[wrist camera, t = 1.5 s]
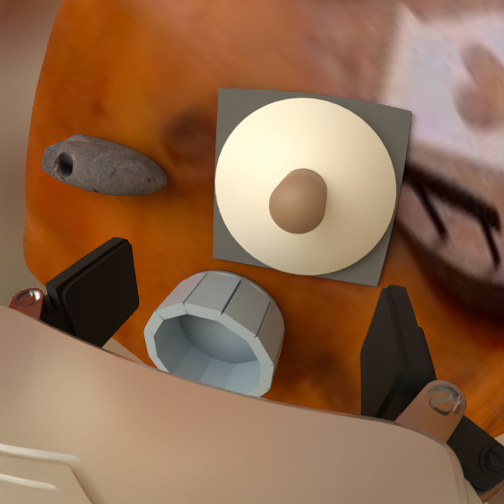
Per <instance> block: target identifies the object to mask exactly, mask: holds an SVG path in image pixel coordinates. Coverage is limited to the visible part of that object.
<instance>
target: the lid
mask: <svg viewBox="0 0 504 504" xmlns="http://www.w3.org/2000/svg"><path fill="white" fill-rule="evenodd" d="M215 192H216V198H217V203H218V207H219V210H220V213H221V216H222V218H223V220H224V223H225V225H226V226H227V228H228V230H229V231H230V233H231V234H232V236H233V237H234V238H235V240H236V241H237V242H238V243H239V244H240V245H241V246H242V247H243V248H244V249H245V250H246V251H247V252H248V253H249V254H251V255H252V256H253V257H254V258H256V259H258V260H259V261H261V262H262V263H264V264H266V265H268V266H270V267H272V268H275V269H278V270H280V271H284V272H288V273H292V274H299V275H319V274H327V273H331V272H335V271H338V270H340V269H343V268H346V267H348V266H350V265H352V264H353V263H355V262H357V261H358V260H360V259H361V258H363V257H364V256H365V255H366V254H367V253H369V252H370V251H371V250H372V249H373V248H374V247H375V245H376V244H377V243H378V242H379V241H380V239H381V238H382V236H383V234H384V233H385V231H386V230H387V227H388V225H389V223H390V221H391V218H392V214H393V211H394V207H395V200H396V180H395V173H394V169H393V165H392V162H391V159H390V156H389V154H388V152H387V150H386V148H385V146H384V144H383V143H382V141H381V140H380V138H379V137H378V135H377V134H376V133H375V132H374V131H373V129H372V128H371V127H370V126H369V125H368V124H367V123H366V122H365V121H363V120H362V119H361V118H360V117H358V116H357V115H355V114H354V113H352V112H351V111H349V110H347V109H345V108H343V107H341V106H339V105H337V104H334V103H331V102H328V101H324V100H319V99H313V98H293V99H286V100H281V101H277V102H274V103H271V104H269V105H266V106H264V107H262V108H260V109H258V110H256V111H255V112H253V113H252V114H250V115H249V116H248V117H246V118H245V119H244V120H243V121H242V122H241V123H240V124H239V125H238V126H237V127H236V128H235V129H234V131H233V132H232V133H231V135H230V136H229V137H228V139H227V141H226V143H225V145H224V146H223V148H222V151H221V154H220V156H219V159H218V164H217V168H216V176H215Z"/></svg>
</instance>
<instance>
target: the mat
mask: <svg viewBox="0 0 504 504" xmlns="http://www.w3.org/2000/svg"><path fill="white" fill-rule="evenodd" d="M293 98H313V99H319V100H324V101H328V102H331V103H334V104H337V105H339V106H341V107H343V108H345V109H347V110H349V111H351V112H352V113H354V114H355V115H357V116H358V117H360V118H361V119H362V120H363V121H365V122H366V123H367V124H368V125H369V126H370V127H371V128H372V129H373V131H374V132H375V133H376V134H377V135H378V137H379V138H380V140H381V141H382V143H383V144H384V146H385V148H386V150H387V152H388V154H389V156H390V159H391V162H392V165H393V169H394V173H395V180H396V200H395V207H394V211H393V214H392V218H391V221H390V223H389V225H388V227H387V230H386V231H385V233H384V234H383V236H382V238H381V239H380V241H379V242H378V243H377V244H376V245H375V247H374V248H373V249H372V250H371V251H370V252H369V253H367V254H366V255H365V256H364V257H363V258H361V259H360V260H358V261H357V262H355V263H353V264H352V265H350V266H348V267H346V268H343V269H340V270H338V271H335V272H331V273H327V274H319V275H311V276H316V277H322V278H328V279H334V280H339V281H345V282H351V283H357V284H363V285H369V286H375V287H377V285H378V281H379V278H380V274H381V270H382V267H383V263H384V259H385V256H386V252H387V248H388V244H389V240H390V235H391V231H392V227H393V223H394V218H395V213H396V209H397V204H398V199H399V194H400V188H401V183H402V177H403V171H404V165H405V159H406V152H407V145H408V138H409V130H410V121H411V112H412V111H408V110H403V109H399V108H395V107H390V106H385V105H381V104H376V103H370V102H365V101H359V100H354V99H347V98H341V97H334V96H327V95H319V94H310V93H300V92H289V91H276V90H259V89H219V96H218V114H217V134H216V157H215V176H216V168H217V164H218V159H219V156H220V154H221V151H222V148H223V146H224V145H225V143H226V141H227V139H228V137H229V136H230V135H231V133H232V132H233V131H234V129H235V128H236V127H237V126H238V125H239V124H240V123H241V122H242V121H243V120H244V119H245V118H246V117H248V116H249V115H250V114H252V113H253V112H255V111H256V110H258V109H260V108H262V107H264V106H266V105H269V104H271V103H274V102H277V101H281V100H286V99H293ZM213 258H216V259H222V260H227V261H232V262H238V263H243V264H249V265H254V266H260V267H265V268H271V269H275V268H272V267H270V266H268V265H266V264H264V263H262V262H261V261H259V260H258V259H256V258H254V257H253V256H252V255H251V254H249V253H248V252H247V251H246V250H245V249H244V248H243V247H242V246H241V245H240V244H239V243H238V242H237V241H236V240H235V238H234V237H233V236H232V234H231V233H230V231H229V230H228V228H227V226H226V225H225V223H224V220H223V218H222V216H221V213H220V210H219V207H218V203H217V198H216V192H215V185H214V226H213ZM277 270H278V269H277Z"/></svg>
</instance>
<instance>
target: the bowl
mask: <svg viewBox="0 0 504 504" xmlns="http://www.w3.org/2000/svg"><path fill="white" fill-rule="evenodd" d="M144 330H145V331H144V335H145V340H146V345H147V350H148V355H150V356H149V357H150V358H151V359H152V361H153V362H154V363H155V365H156V366H157V367H158V369H160V370H163V371H166V372H169V373H172V374H175V375H178V376H181V377H184V378H188V379H191V380H194V381H198V382H201V383H205V384H208V385H212V386H216V387H219V388H223V389H227V390H231V391H235V392H239V393H243V394H247V395H251V396H256V397H260V396H261V395H263V394H264V393H266V392H267V391H268V390H269V389H270V387H271V384H272V381H273V377H274V374H275V370H276V367H277V363H278V360H279V356H280V353H281V348H282V343H283V338H284V335H285V323H284V318H283V315H282V312H281V310H280V308H279V306H278V304H277V303H276V301H275V300H274V299H273V297H272V296H271V295H270V294H269V293H268V292H267V291H266V290H265V289H264V288H263V287H261V286H260V285H259V284H257V283H256V282H254V281H253V280H251V279H249V278H247V277H245V276H243V275H240V274H237V273H234V272H230V271H225V270H206V271H202V272H198V273H196V274H193V275H191V276H190V277H188V278H187V279H186V280H183V281H182V282H180V283H179V284H178V286H177V287H176V288H175V289H174V290H173V291H172V292H171V293H170V294H169V296H168V297H167V298H166V299H165V300H164V301H163V302H162V303H161V304H160V306H159V307H158V308H157V309H156V310H155V311H154V313H153V315H152V316H151V318H150V320H149V322H148V324H147V325H146V327H145V329H144Z"/></svg>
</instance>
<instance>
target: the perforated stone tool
mask: <svg viewBox="0 0 504 504" xmlns="http://www.w3.org/2000/svg"><path fill="white" fill-rule="evenodd" d="M41 167H42V170H43V171H44V172H46V173H48V174H49V175H50V176H52V177H54V178H56V179H58V180H60V181H62V182H64V183H66V184H69V185H72V186H74V187H78V188H80V189H84V190H87V191H91V192H96V193H101V194H105V195H117V196H141V195H146V194H150V193H153V192H157V191H158V190H160V189H162V188H163V187H165V185H167V176H166V174H165V172H164V171H163V170H162V169H161V167H160V166H159V165H158V164H157V163H155V162H154V161H153V160H152V159H150V158H149V157H147V156H146V155H144V154H142V153H140V152H138V151H136V150H134V149H131V148H129V147H126V146H123V145H120V144H117V143H114V142H111V141H106V140H102V139H99V138H96V137H92V136H87V135H81V134H77V135H73V136H71V137H70V138H67V139H66V140H65V141H61V142H59V143H55V144H54V145H51V146H48V147H47V148H46V149H45V153H44V158H43V160H42V163H41Z"/></svg>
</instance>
